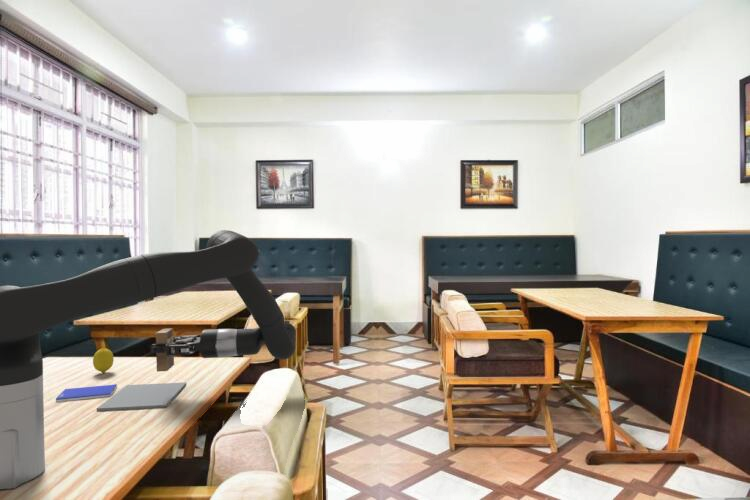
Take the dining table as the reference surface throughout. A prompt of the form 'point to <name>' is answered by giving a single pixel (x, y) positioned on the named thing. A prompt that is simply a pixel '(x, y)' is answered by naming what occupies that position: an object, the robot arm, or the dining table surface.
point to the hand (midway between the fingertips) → (155, 345)
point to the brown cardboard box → (162, 359)
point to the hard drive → (86, 393)
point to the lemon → (103, 360)
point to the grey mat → (143, 396)
